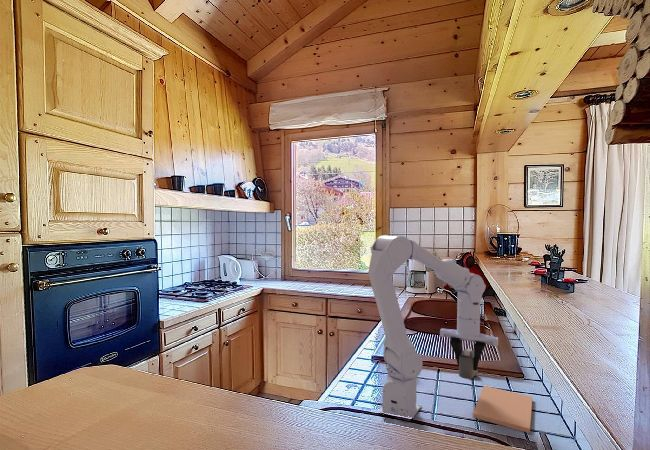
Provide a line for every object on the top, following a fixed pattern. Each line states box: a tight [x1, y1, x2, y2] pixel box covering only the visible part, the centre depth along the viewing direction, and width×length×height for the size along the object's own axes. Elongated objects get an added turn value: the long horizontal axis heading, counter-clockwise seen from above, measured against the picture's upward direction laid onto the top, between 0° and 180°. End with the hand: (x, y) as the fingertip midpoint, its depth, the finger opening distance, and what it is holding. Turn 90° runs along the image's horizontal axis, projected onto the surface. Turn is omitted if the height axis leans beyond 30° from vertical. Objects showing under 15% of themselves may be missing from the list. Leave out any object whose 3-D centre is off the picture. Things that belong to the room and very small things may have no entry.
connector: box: [458, 347, 476, 380], centre depth 95 cm, size 8×3×6 cm, turn 148°
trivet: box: [472, 385, 533, 434], centre depth 90 cm, size 18×12×1 cm, turn 148°
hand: (467, 367), depth 95 cm, fingers closed on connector, 3 cm apart
